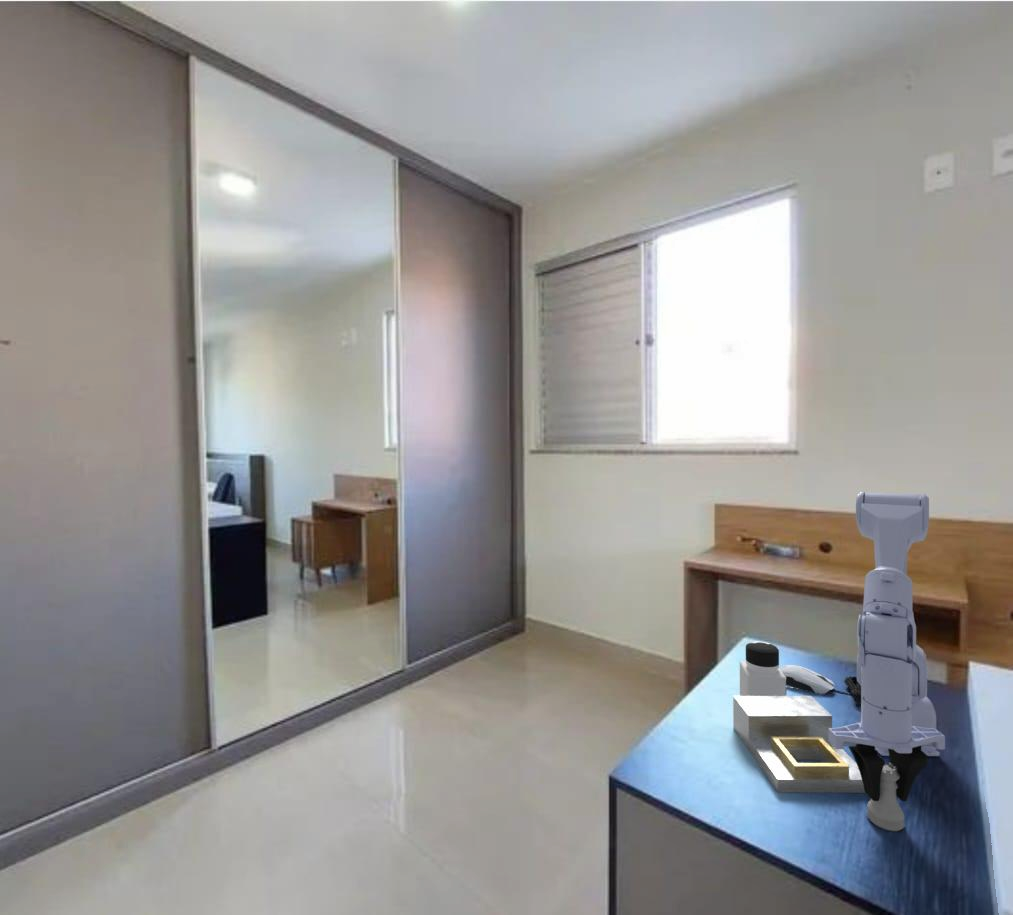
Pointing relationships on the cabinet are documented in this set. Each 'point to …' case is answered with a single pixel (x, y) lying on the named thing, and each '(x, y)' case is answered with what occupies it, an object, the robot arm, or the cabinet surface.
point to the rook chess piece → (887, 802)
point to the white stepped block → (794, 744)
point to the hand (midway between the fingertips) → (885, 796)
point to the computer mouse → (817, 681)
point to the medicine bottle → (761, 671)
